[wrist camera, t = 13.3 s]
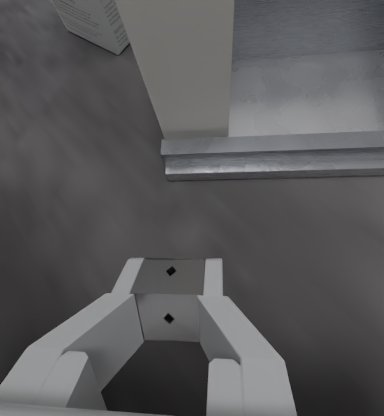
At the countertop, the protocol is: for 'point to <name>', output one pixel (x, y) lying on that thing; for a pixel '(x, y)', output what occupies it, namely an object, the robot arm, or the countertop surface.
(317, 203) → the countertop surface
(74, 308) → the countertop surface
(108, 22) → the skincare box
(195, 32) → the block
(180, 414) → the countertop surface
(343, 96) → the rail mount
